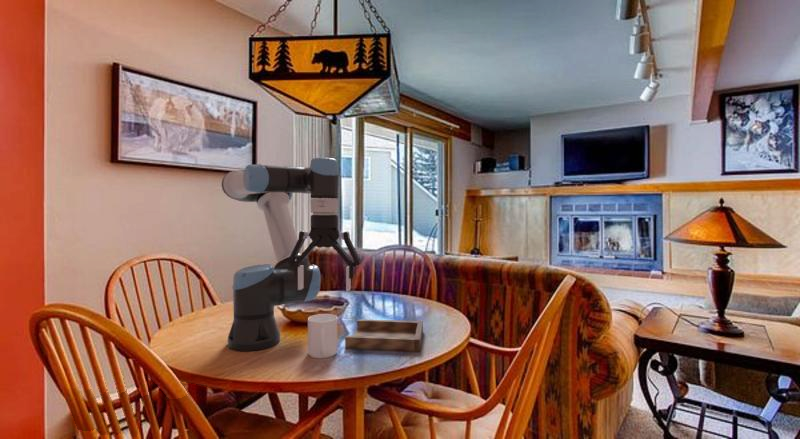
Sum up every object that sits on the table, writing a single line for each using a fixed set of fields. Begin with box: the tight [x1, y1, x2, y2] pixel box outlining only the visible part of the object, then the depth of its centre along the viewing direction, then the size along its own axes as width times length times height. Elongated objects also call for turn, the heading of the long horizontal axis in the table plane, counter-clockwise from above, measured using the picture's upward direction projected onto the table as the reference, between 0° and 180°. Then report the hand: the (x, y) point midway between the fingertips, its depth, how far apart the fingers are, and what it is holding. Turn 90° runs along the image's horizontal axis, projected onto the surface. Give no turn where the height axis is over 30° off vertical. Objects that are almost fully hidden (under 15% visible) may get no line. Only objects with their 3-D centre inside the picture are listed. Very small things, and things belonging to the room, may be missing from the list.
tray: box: [344, 318, 424, 353], centre depth 126 cm, size 22×18×4 cm
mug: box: [307, 313, 338, 359], centre depth 112 cm, size 12×8×10 cm
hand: (324, 289), depth 112 cm, fingers open, 13 cm apart
